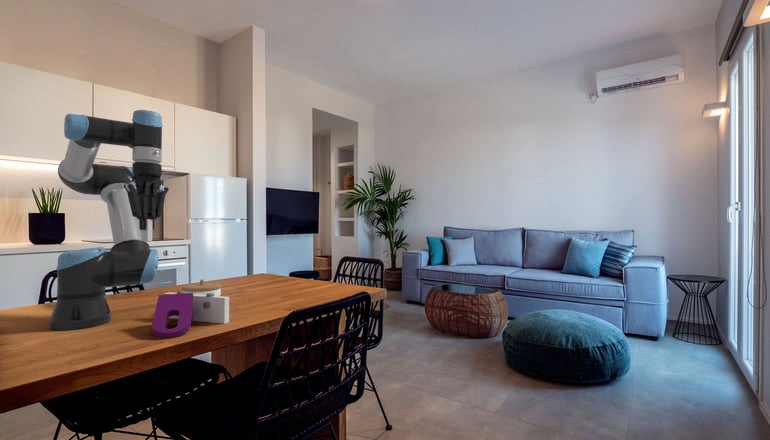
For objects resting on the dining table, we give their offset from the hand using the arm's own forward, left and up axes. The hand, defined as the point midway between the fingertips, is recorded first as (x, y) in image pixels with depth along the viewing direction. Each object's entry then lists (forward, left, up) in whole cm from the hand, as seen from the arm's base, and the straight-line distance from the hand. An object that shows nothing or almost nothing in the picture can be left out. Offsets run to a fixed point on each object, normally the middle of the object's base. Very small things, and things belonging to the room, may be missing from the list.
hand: (146, 240), depth 115 cm
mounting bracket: (+10, 0, -27) cm, 28 cm away
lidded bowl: (-1, +22, -26) cm, 34 cm away
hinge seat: (+7, +11, -26) cm, 29 cm away
